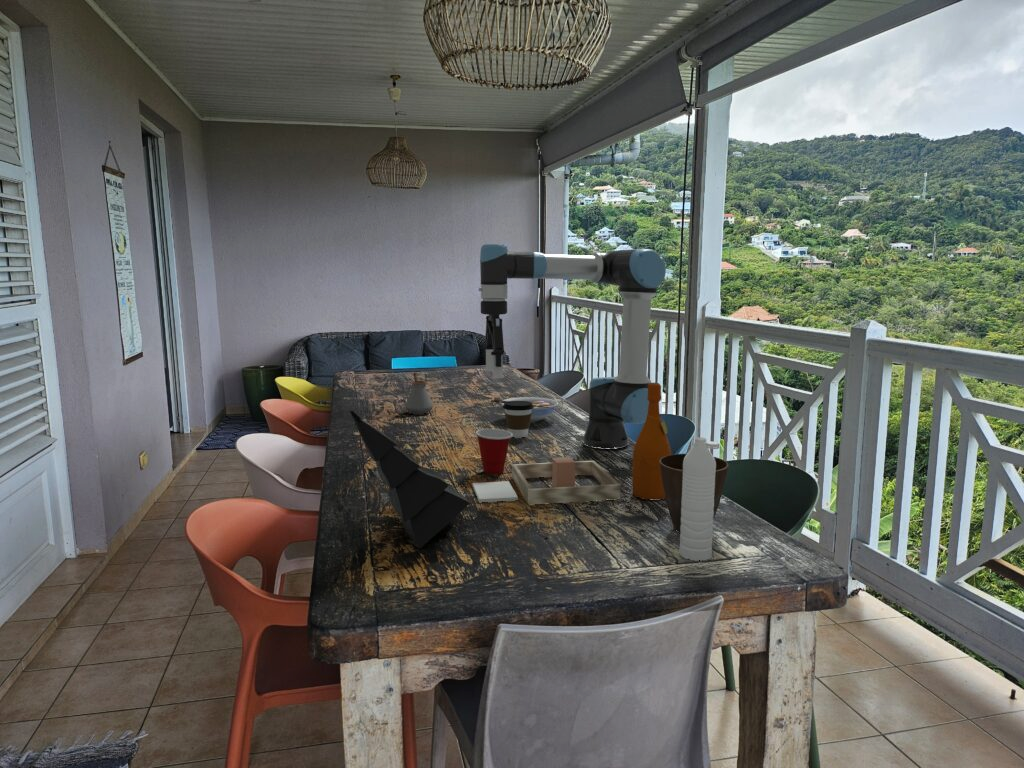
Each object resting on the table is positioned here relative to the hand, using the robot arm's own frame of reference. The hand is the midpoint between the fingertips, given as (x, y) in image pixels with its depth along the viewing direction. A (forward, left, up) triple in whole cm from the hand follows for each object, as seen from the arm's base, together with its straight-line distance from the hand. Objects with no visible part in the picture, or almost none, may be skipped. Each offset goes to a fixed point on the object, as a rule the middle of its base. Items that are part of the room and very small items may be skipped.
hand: (494, 374), depth 202 cm
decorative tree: (+26, +48, -29) cm, 62 cm away
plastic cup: (0, 0, -29) cm, 29 cm away
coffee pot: (+18, -96, -29) cm, 102 cm away
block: (-16, +19, -29) cm, 38 cm away
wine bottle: (-37, +29, -29) cm, 55 cm away
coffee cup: (-15, -43, -29) cm, 54 cm away
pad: (+3, +20, -29) cm, 35 cm away
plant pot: (-37, +54, -29) cm, 72 cm away
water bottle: (-32, +69, -29) cm, 81 cm away
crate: (-16, +19, -29) cm, 38 cm away
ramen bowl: (-24, -68, -29) cm, 78 cm away
